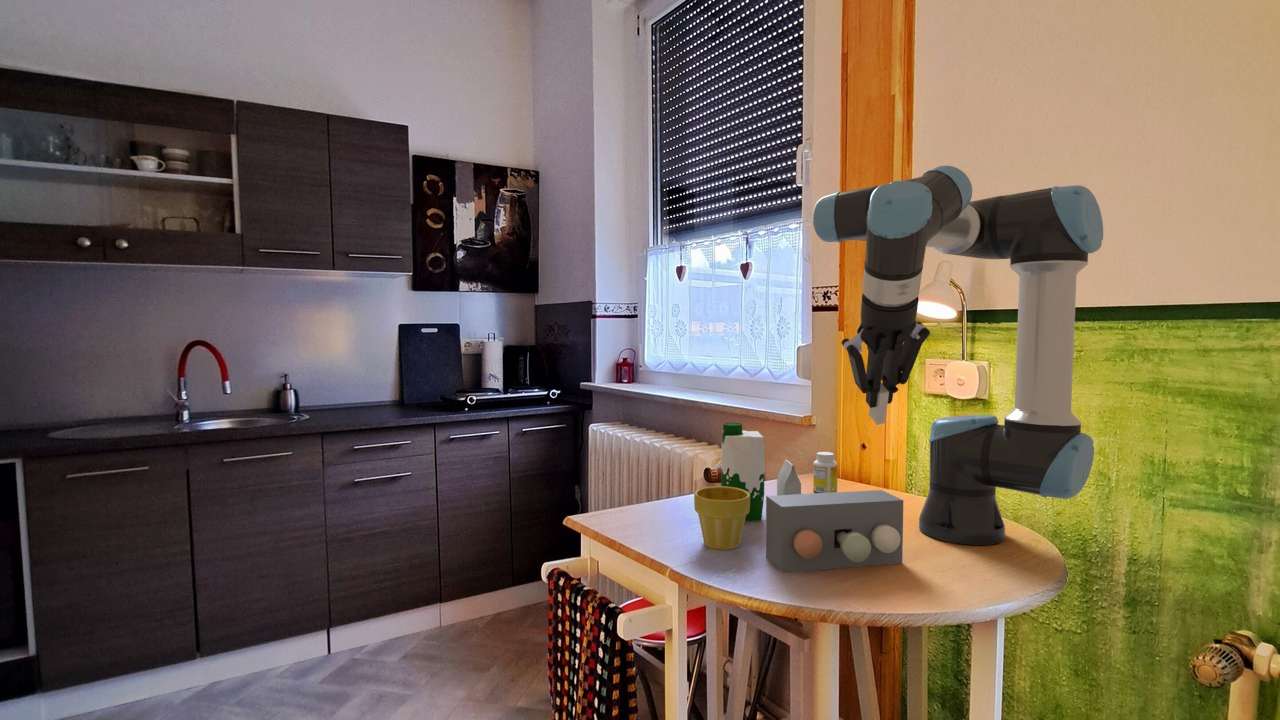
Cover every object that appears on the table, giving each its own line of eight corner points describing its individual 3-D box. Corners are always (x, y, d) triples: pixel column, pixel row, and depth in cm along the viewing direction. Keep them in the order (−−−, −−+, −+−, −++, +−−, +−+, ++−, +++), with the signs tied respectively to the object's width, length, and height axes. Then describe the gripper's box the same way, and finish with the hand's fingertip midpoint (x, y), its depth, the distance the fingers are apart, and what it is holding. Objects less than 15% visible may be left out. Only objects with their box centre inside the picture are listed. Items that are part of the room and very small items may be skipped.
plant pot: (747, 555, 115) (748, 501, 115) (690, 551, 118) (690, 498, 117) (751, 537, 126) (751, 487, 125) (698, 533, 128) (698, 484, 127)
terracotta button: (807, 545, 112) (807, 520, 112) (822, 557, 106) (822, 531, 106) (783, 547, 111) (783, 522, 111) (796, 559, 106) (797, 533, 106)
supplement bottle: (834, 492, 159) (835, 451, 158) (839, 498, 153) (839, 455, 153) (811, 492, 159) (811, 450, 159) (815, 498, 154) (815, 455, 153)
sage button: (853, 549, 111) (853, 523, 110) (870, 561, 105) (871, 534, 105) (828, 550, 110) (829, 525, 110) (845, 563, 104) (845, 536, 104)
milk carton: (719, 510, 144) (719, 421, 143) (760, 510, 143) (760, 421, 142) (723, 522, 135) (723, 427, 134) (767, 522, 135) (767, 427, 134)
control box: (880, 549, 118) (881, 490, 118) (902, 563, 111) (903, 500, 111) (765, 557, 115) (766, 495, 114) (781, 572, 108) (781, 506, 107)
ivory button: (881, 541, 115) (881, 516, 114) (900, 552, 109) (900, 526, 109) (858, 542, 114) (858, 517, 114) (876, 553, 108) (876, 528, 108)
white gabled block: (784, 510, 144) (784, 465, 143) (777, 502, 150) (777, 459, 150) (800, 510, 144) (801, 465, 143) (792, 502, 151) (793, 459, 150)
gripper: (858, 317, 88) (849, 443, 102) (948, 297, 89) (927, 424, 102) (834, 291, 94) (828, 413, 108) (919, 272, 95) (903, 395, 109)
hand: (877, 418), depth 105 cm, fingers closed
